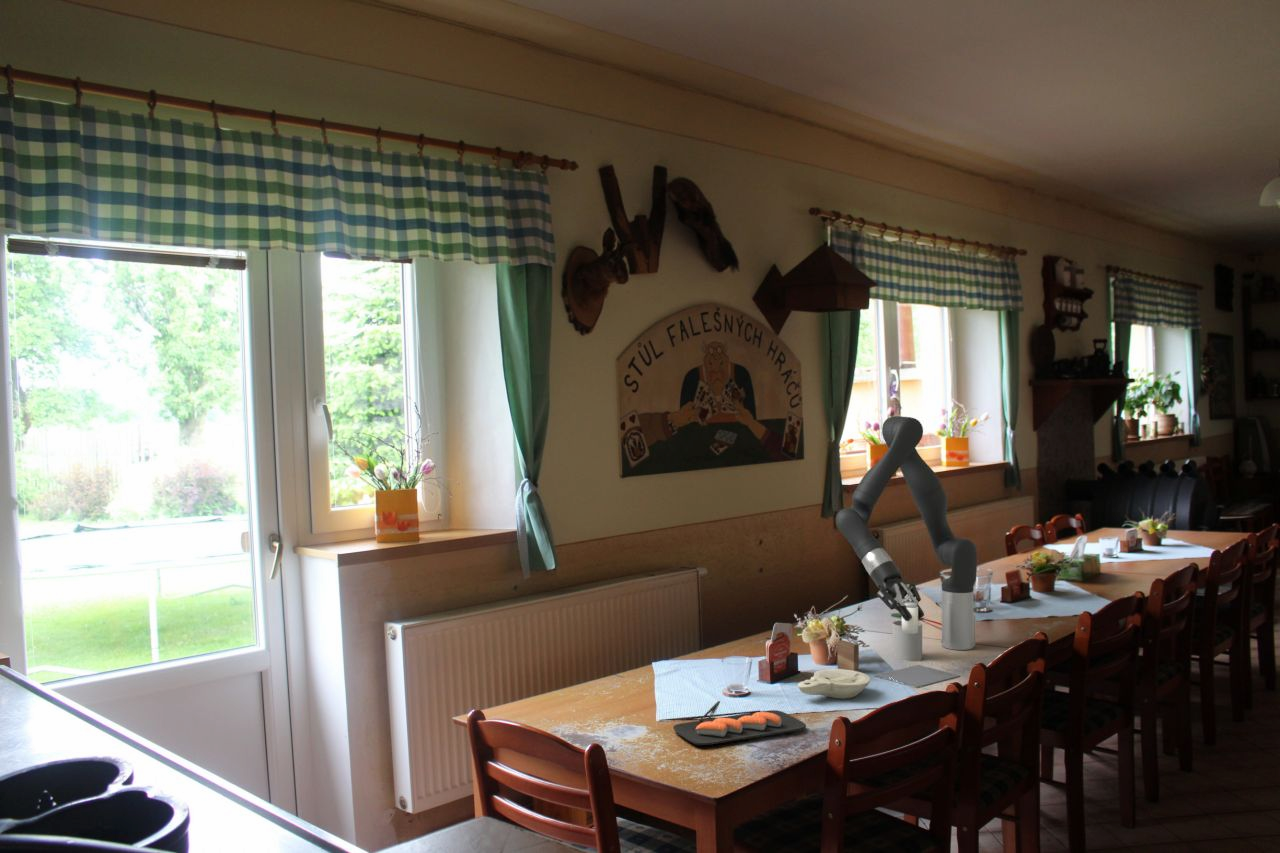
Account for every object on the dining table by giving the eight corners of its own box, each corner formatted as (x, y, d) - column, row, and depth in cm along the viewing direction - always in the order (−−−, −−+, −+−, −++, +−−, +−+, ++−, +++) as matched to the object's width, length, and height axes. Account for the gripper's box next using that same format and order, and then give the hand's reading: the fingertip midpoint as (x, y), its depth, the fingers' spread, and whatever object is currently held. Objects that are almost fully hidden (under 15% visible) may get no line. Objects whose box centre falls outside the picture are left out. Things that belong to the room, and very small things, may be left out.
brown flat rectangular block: (842, 668, 278) (842, 640, 278) (858, 673, 273) (858, 644, 273) (837, 669, 277) (837, 641, 277) (853, 674, 272) (853, 645, 272)
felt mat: (918, 665, 280) (918, 664, 280) (960, 676, 269) (960, 675, 269) (875, 676, 270) (875, 675, 270) (916, 688, 258) (916, 686, 258)
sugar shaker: (909, 629, 274) (908, 600, 274) (921, 632, 270) (921, 602, 270) (898, 631, 271) (897, 602, 271) (910, 634, 268) (910, 605, 268)
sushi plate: (697, 753, 213) (697, 735, 213) (641, 714, 240) (641, 698, 240) (811, 734, 224) (811, 718, 224) (745, 699, 252) (745, 684, 252)
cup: (923, 661, 285) (923, 627, 284) (893, 660, 286) (893, 626, 286) (920, 654, 293) (920, 620, 293) (892, 653, 294) (892, 619, 294)
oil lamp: (820, 711, 240) (820, 690, 240) (781, 696, 252) (781, 677, 252) (882, 697, 251) (882, 677, 251) (842, 683, 263) (842, 665, 263)
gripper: (870, 562, 272) (905, 613, 263) (905, 557, 281) (940, 606, 271) (856, 579, 277) (890, 630, 267) (891, 573, 285) (925, 622, 275)
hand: (915, 618), depth 269 cm, fingers closed on sugar shaker, 4 cm apart
